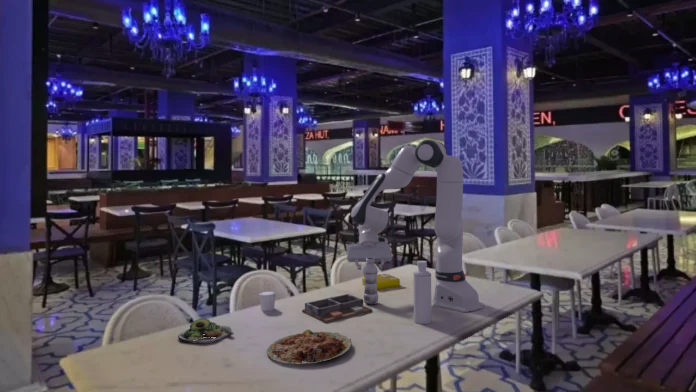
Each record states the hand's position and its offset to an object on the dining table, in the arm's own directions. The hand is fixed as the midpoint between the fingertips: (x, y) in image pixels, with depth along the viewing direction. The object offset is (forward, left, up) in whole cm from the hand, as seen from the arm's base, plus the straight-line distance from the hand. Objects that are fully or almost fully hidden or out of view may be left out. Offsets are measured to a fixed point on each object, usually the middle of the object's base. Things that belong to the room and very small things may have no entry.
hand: (370, 268), depth 211 cm
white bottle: (-34, +1, -15) cm, 37 cm away
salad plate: (+5, +73, -15) cm, 75 cm away
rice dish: (-31, +50, -15) cm, 61 cm away
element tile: (+18, -21, -15) cm, 32 cm away
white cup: (+19, +41, -15) cm, 48 cm away
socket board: (-3, +20, -15) cm, 25 cm away
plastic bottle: (-3, +2, -15) cm, 15 cm away
